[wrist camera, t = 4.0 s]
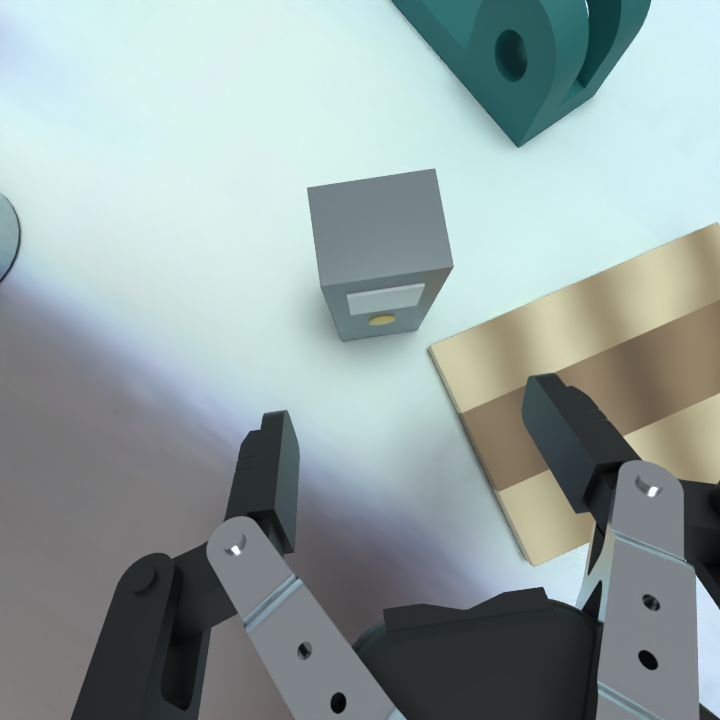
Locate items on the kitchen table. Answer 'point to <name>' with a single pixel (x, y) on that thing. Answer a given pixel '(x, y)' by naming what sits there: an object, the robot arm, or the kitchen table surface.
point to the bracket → (528, 52)
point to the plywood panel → (597, 379)
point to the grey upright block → (380, 251)
